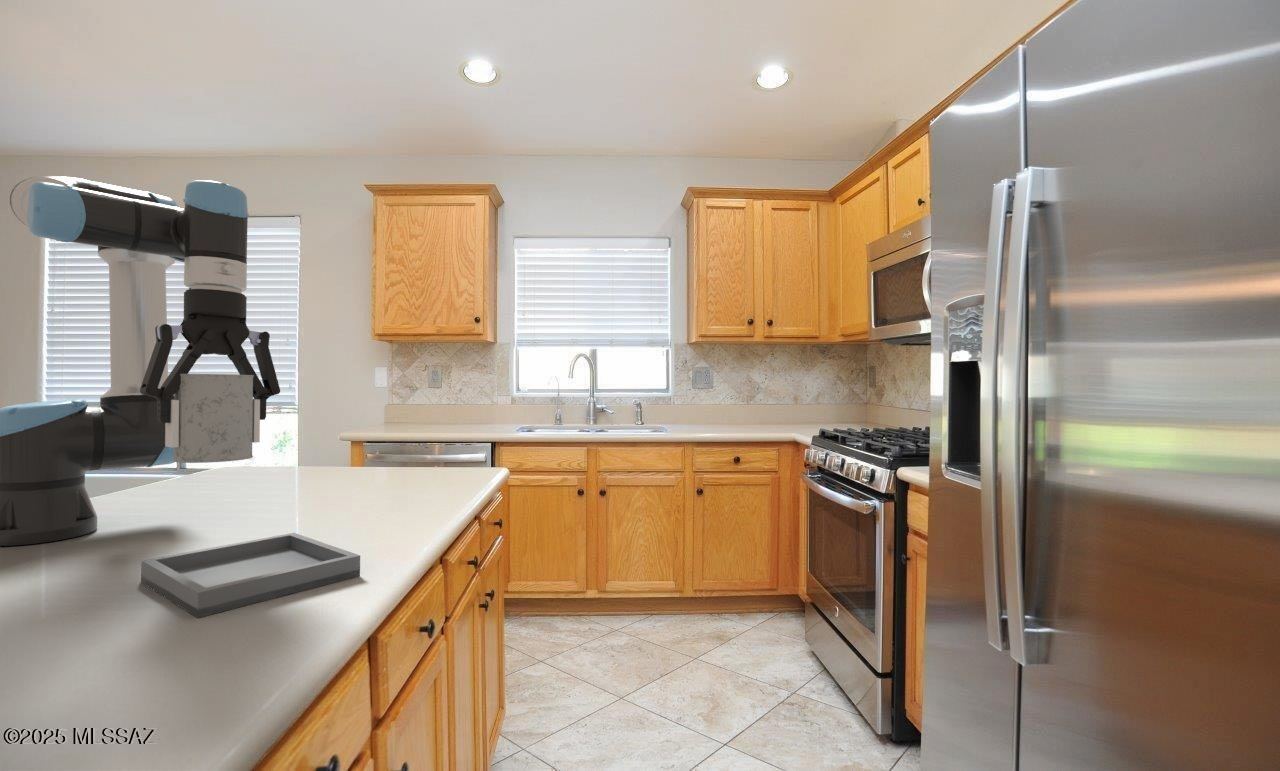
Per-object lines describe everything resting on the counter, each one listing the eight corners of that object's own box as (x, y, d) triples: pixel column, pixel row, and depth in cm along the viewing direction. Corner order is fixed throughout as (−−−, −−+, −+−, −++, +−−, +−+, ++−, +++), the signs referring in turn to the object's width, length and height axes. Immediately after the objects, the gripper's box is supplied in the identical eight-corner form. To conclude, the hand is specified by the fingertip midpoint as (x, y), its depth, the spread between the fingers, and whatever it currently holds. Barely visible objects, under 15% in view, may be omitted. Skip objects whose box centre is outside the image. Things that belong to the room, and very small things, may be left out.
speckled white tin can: (267, 456, 93) (268, 375, 93) (217, 463, 83) (218, 374, 83) (210, 454, 94) (211, 375, 94) (154, 462, 84) (155, 373, 84)
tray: (140, 582, 83) (141, 560, 83) (293, 550, 99) (294, 532, 99) (197, 618, 71) (197, 592, 71) (359, 576, 88) (360, 555, 88)
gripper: (127, 276, 77) (125, 451, 77) (306, 298, 95) (305, 440, 95) (110, 282, 82) (108, 448, 82) (284, 302, 100) (283, 438, 100)
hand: (214, 444), depth 88 cm, fingers closed on speckled white tin can, 9 cm apart
